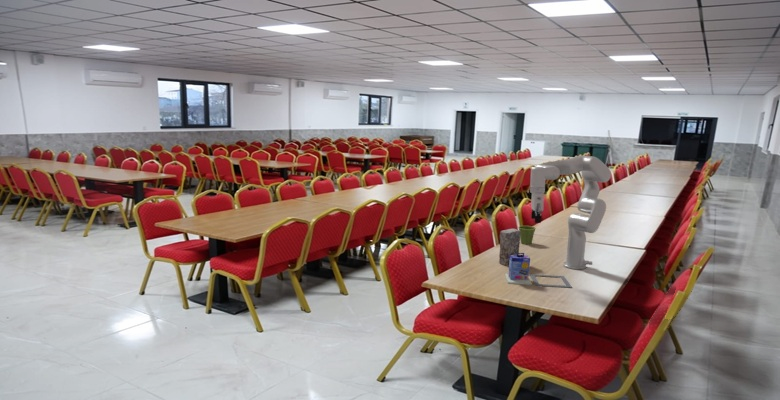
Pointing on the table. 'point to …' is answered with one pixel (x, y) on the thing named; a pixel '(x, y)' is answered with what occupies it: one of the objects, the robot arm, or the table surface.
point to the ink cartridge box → (519, 267)
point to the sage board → (517, 281)
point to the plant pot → (526, 234)
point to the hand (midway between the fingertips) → (536, 220)
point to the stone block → (509, 244)
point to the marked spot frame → (550, 285)
